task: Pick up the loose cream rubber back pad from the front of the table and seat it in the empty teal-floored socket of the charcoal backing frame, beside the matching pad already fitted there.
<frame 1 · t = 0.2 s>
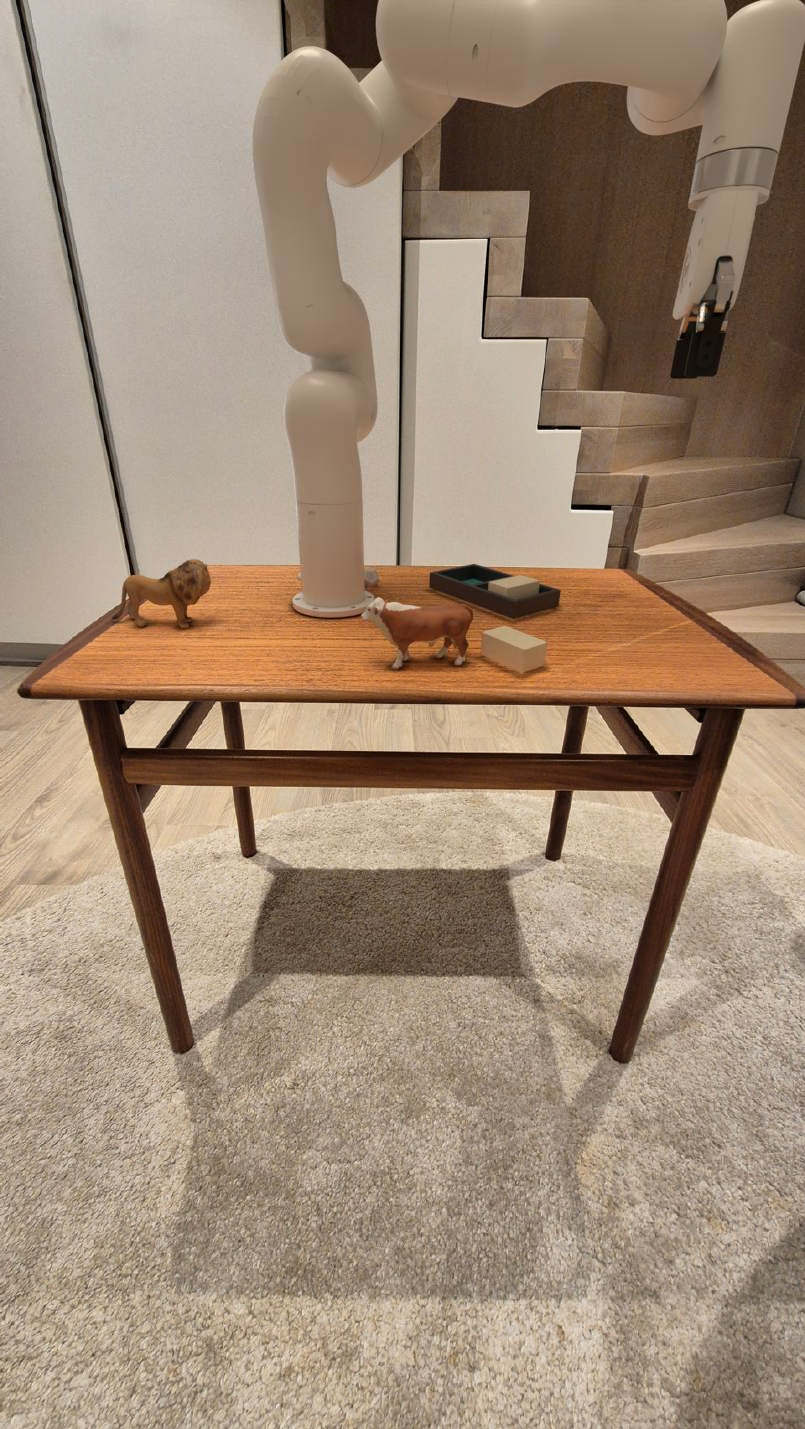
hand: (691, 377, 69), 31 cm above the table, tool pointing down, fingers open, 9 cm apart
lion figurine: (169, 623, 85), on the table
backing frame: (490, 599, 96), on the table
fitted pad: (512, 603, 92), resting on backing frame
loose pad: (511, 663, 73), on the table
bull figurine: (417, 664, 74), on the table
grey round piece: (369, 588, 102), on the table
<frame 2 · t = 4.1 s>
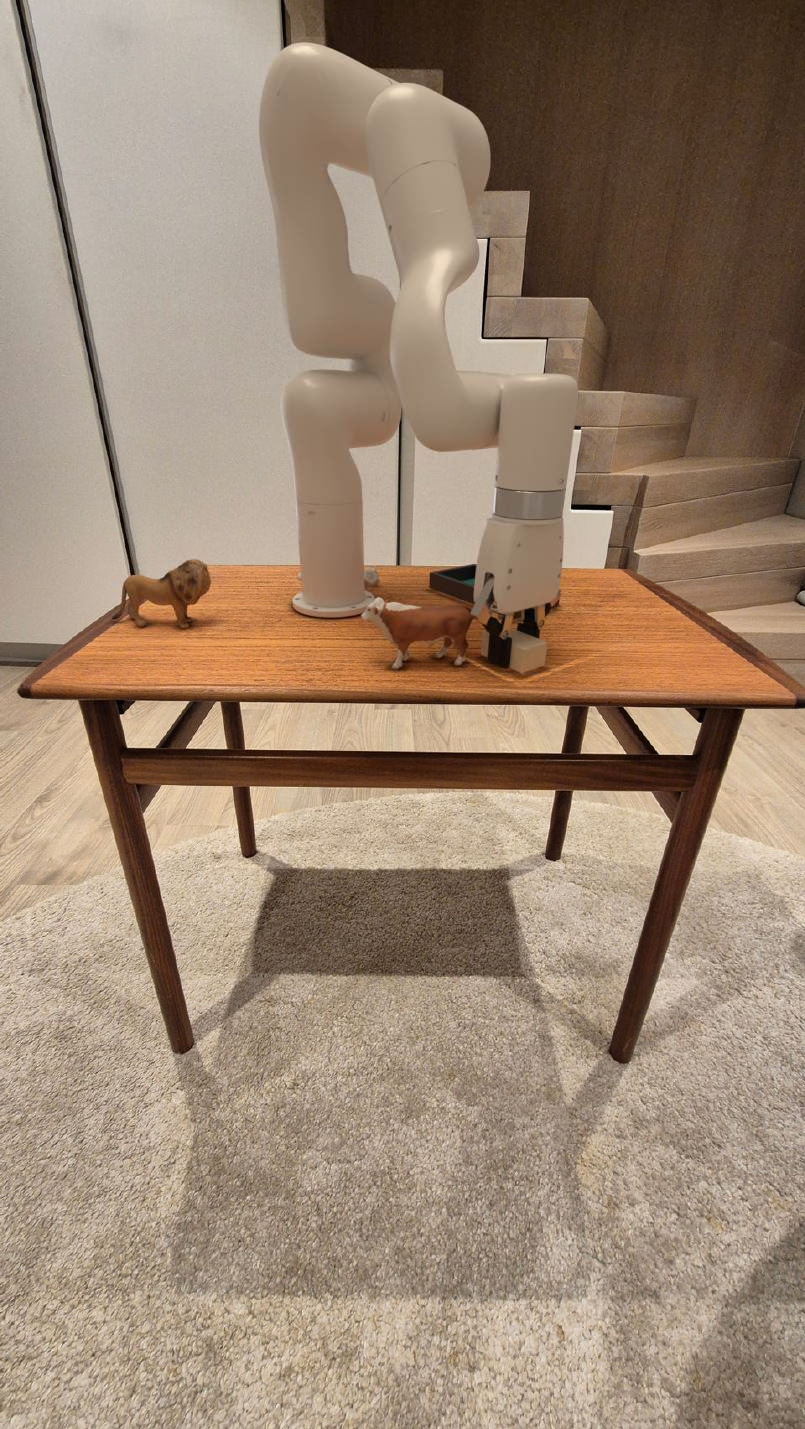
hand: (511, 659, 73), 1 cm above the table, tool pointing down, fingers closed on loose pad, 4 cm apart
loose pad: (511, 663, 73), on the table, touching gripper
everything else where it was.
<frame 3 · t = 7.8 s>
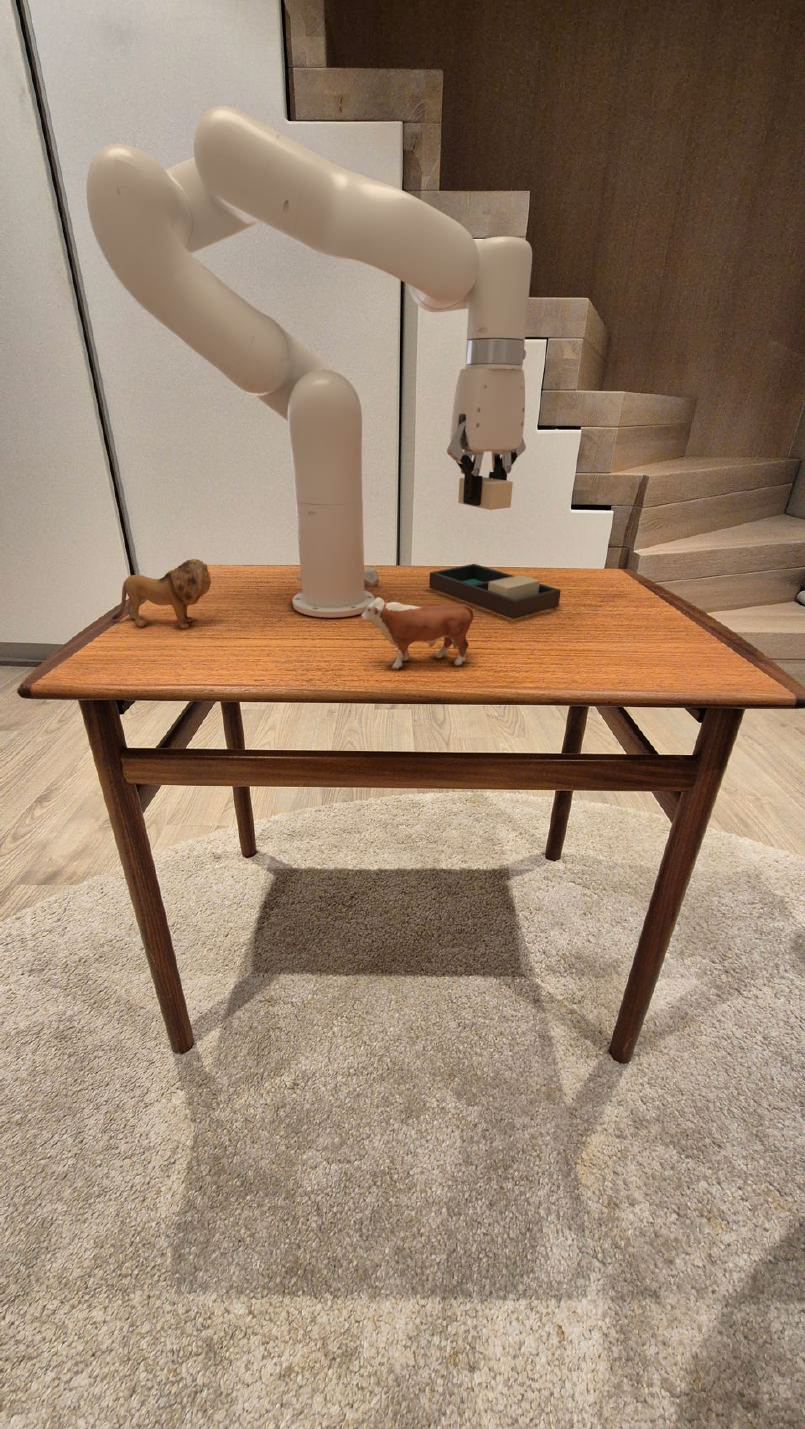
hand: (484, 501, 87), 15 cm above the table, tool pointing down, fingers closed on loose pad, 4 cm apart
loose pad: (483, 505, 88), point 15 cm above the table, touching gripper
everything else where it was.
when the fingers open (1 cm above the table, at t = 12.3 s): loose pad stays where it is, resting on backing frame.
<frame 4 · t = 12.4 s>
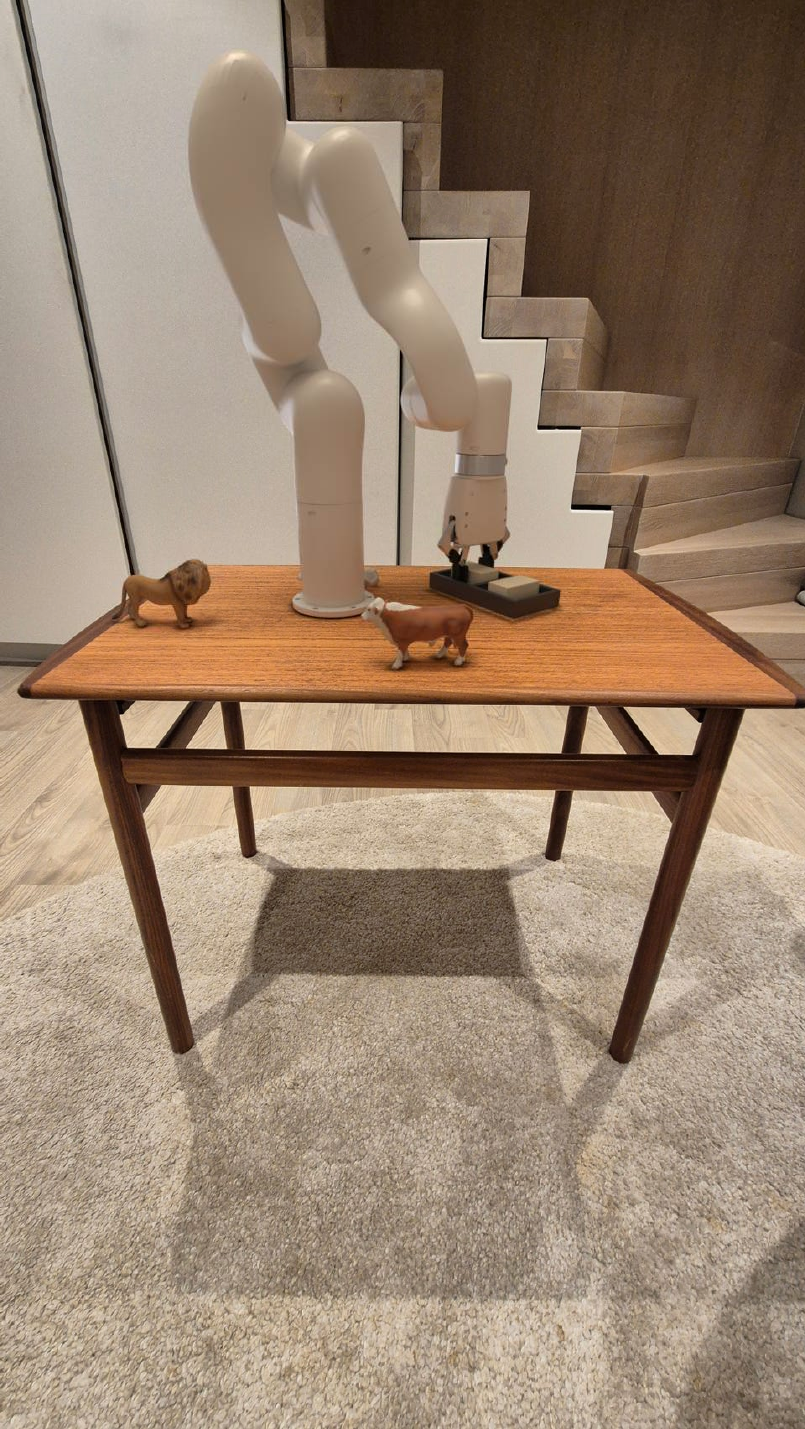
hand: (472, 584, 98), 1 cm above the table, tool pointing down, fingers open, 5 cm apart
loose pad: (473, 588, 99), point 1 cm above the table, touching backing frame
everything else where it was.
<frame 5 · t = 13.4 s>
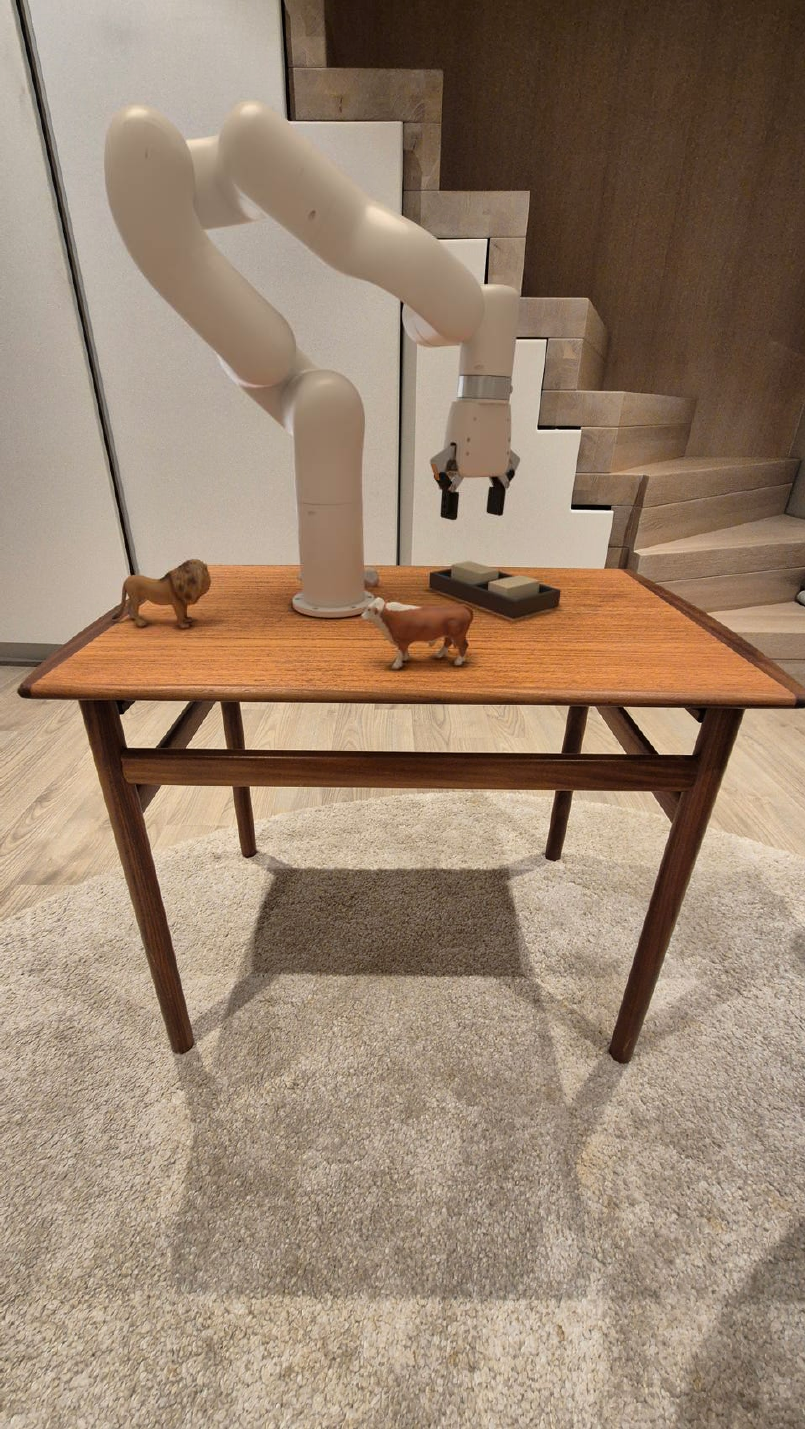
hand: (472, 516, 93), 12 cm above the table, tool pointing down, fingers open, 9 cm apart
nothing on the table moved.
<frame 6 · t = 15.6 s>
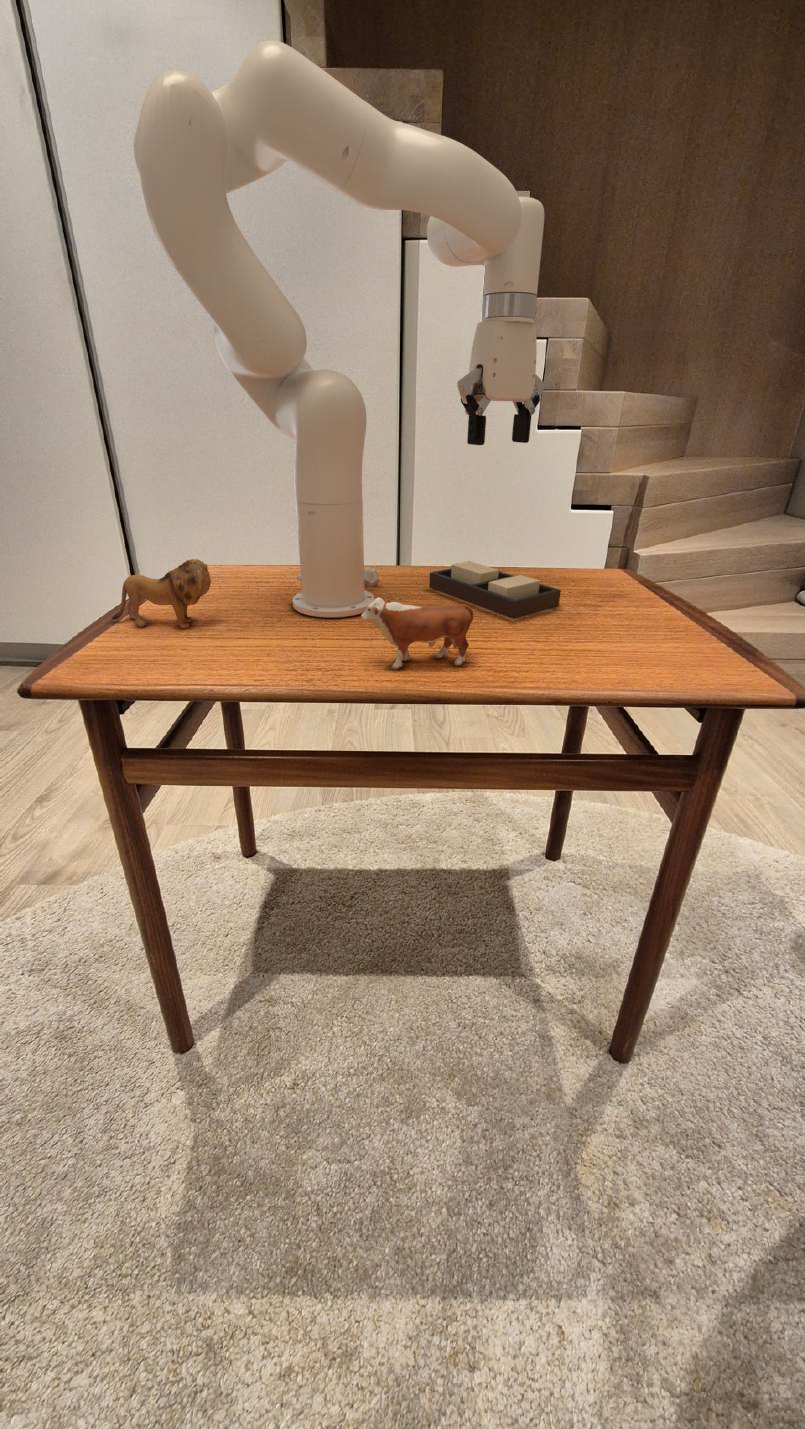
hand: (498, 443, 93), 22 cm above the table, tool pointing down, fingers open, 9 cm apart
nothing on the table moved.
at the end: loose pad 0.3 cm from the target spot in the backing frame, point 0.8 cm above the backing frame's base; loose pad tilted 0° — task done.
